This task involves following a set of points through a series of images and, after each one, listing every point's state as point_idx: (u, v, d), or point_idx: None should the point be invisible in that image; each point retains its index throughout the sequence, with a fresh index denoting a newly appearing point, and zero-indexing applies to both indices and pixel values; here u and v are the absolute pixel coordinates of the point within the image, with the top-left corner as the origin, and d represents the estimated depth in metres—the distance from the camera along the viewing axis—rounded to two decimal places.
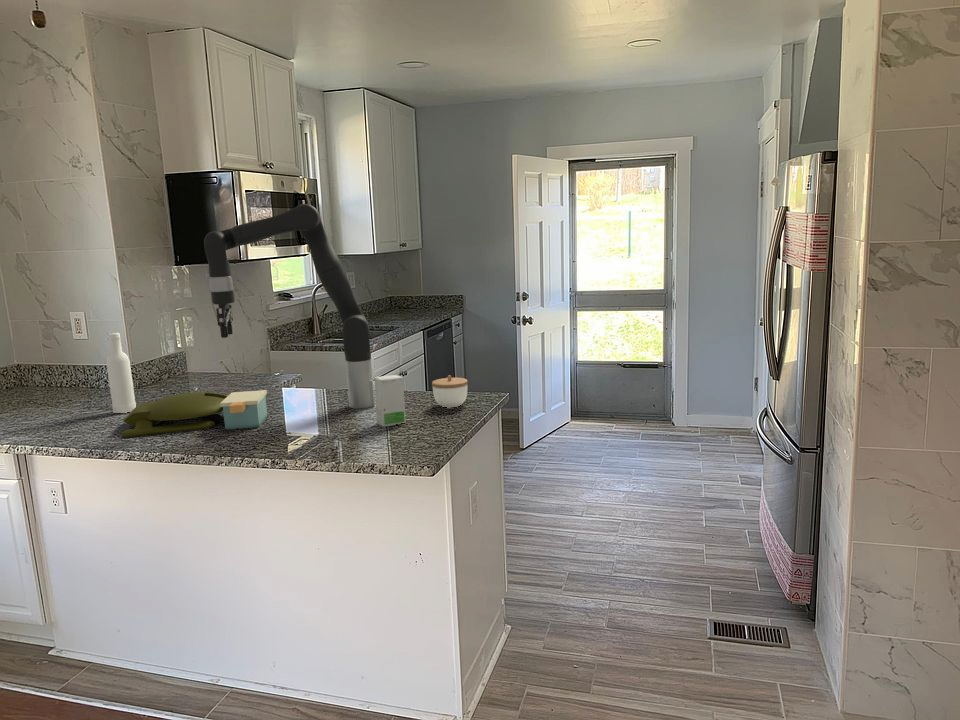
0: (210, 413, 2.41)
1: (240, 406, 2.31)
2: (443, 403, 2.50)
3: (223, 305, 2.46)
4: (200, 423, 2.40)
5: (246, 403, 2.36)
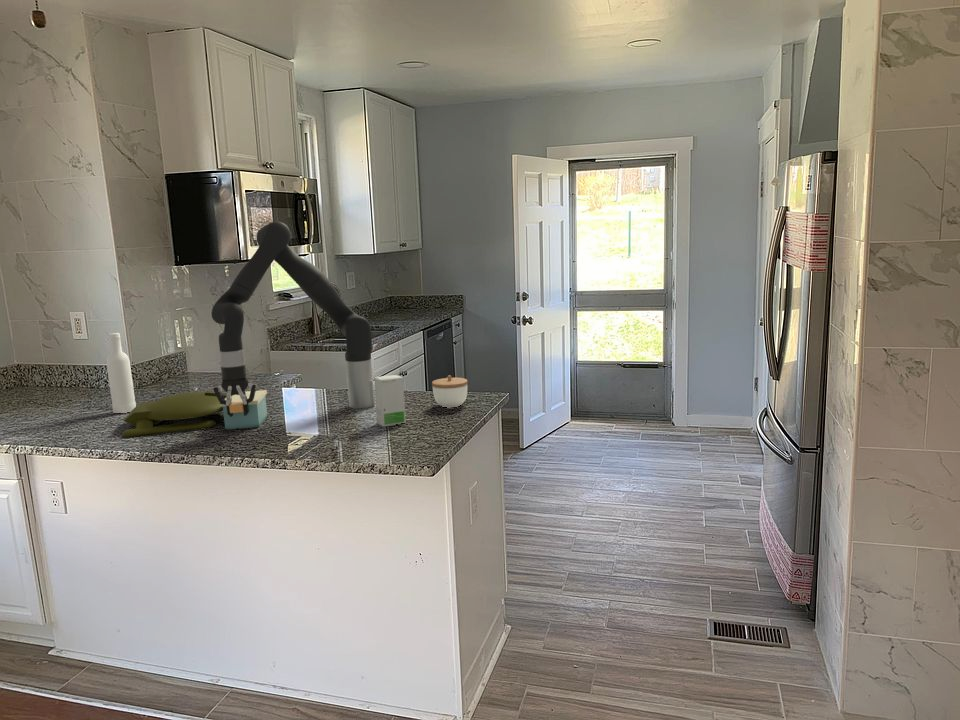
0: (211, 413, 2.42)
1: (240, 406, 2.31)
2: (443, 403, 2.50)
3: (246, 378, 2.33)
4: (201, 422, 2.40)
5: None
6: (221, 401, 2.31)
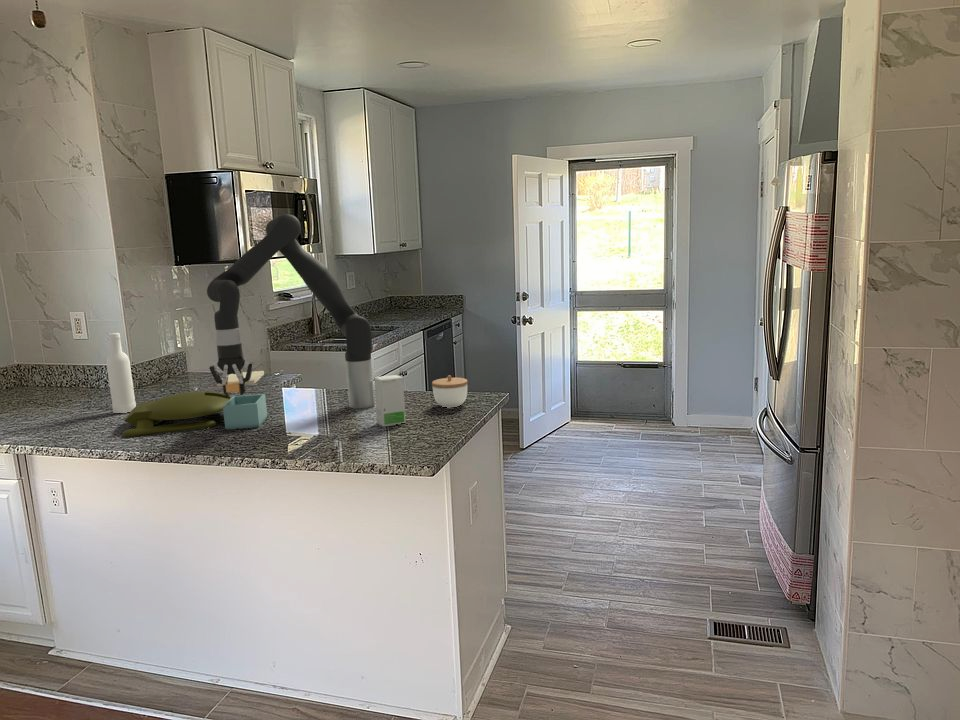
0: (211, 412, 2.42)
1: (236, 385, 2.28)
2: (443, 403, 2.50)
3: None
4: (201, 422, 2.41)
5: None
6: (217, 380, 2.28)
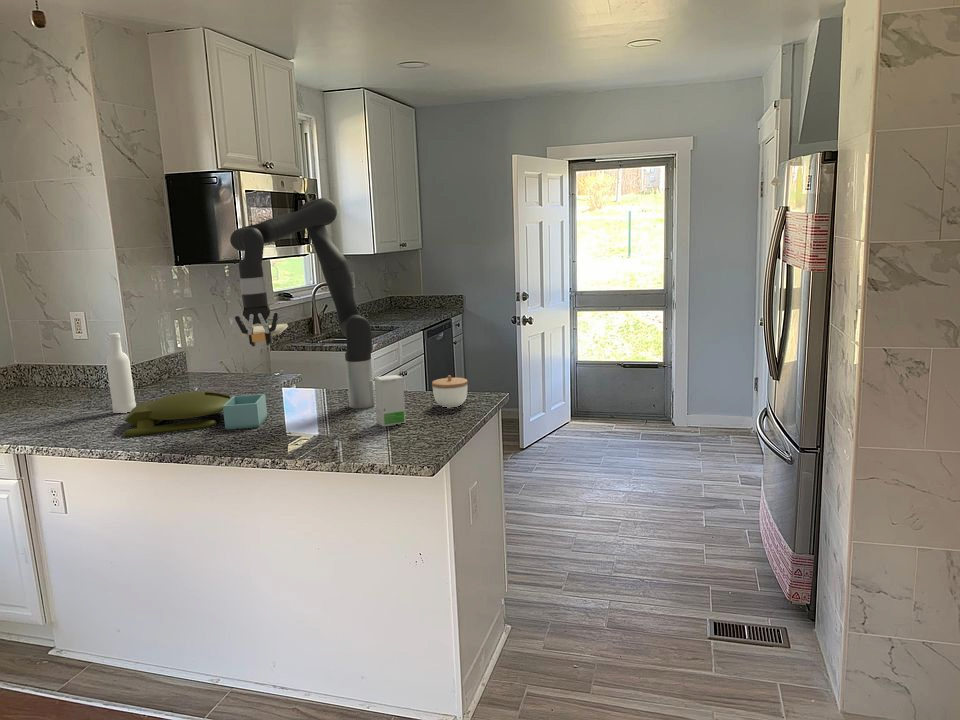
0: (212, 412, 2.43)
1: (262, 335, 2.26)
2: (443, 403, 2.50)
3: (268, 307, 2.28)
4: (202, 422, 2.41)
5: None
6: (243, 330, 2.27)
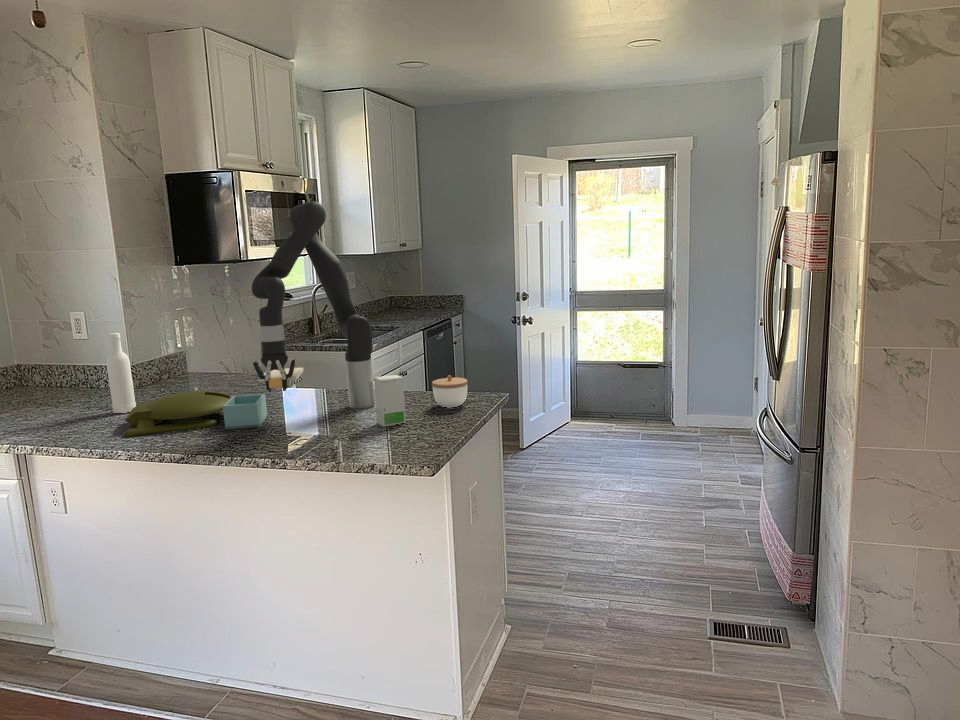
0: (212, 412, 2.43)
1: (279, 381, 2.31)
2: (443, 403, 2.50)
3: None
4: (203, 422, 2.41)
5: None
6: (260, 376, 2.31)
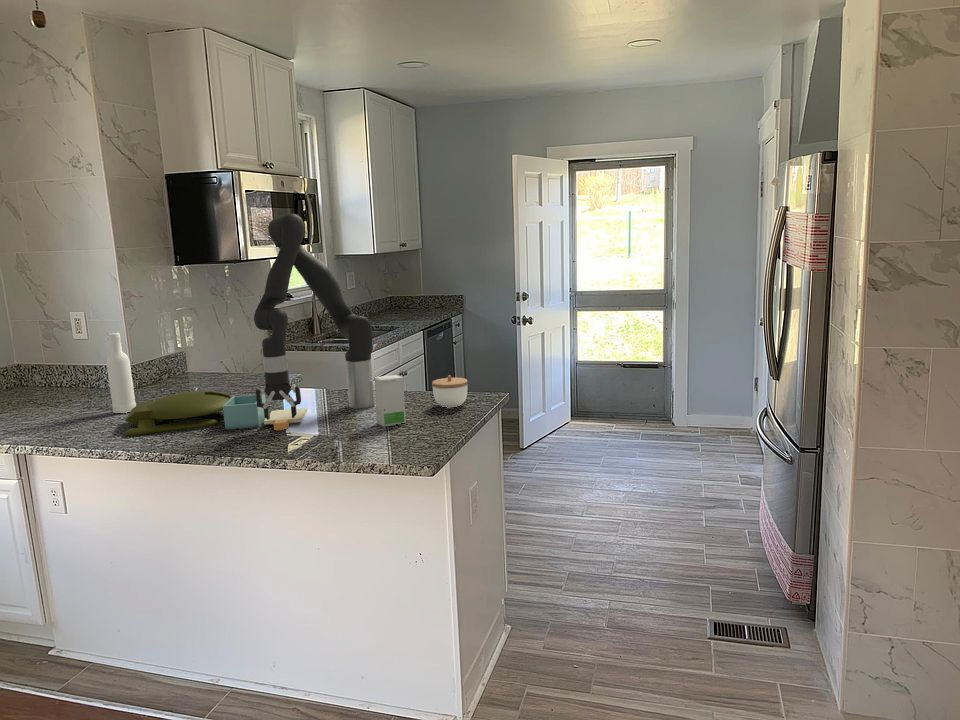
0: (213, 411, 2.44)
1: (284, 424, 2.33)
2: (443, 403, 2.50)
3: None
4: (203, 421, 2.42)
5: (289, 421, 2.38)
6: (258, 404, 2.32)
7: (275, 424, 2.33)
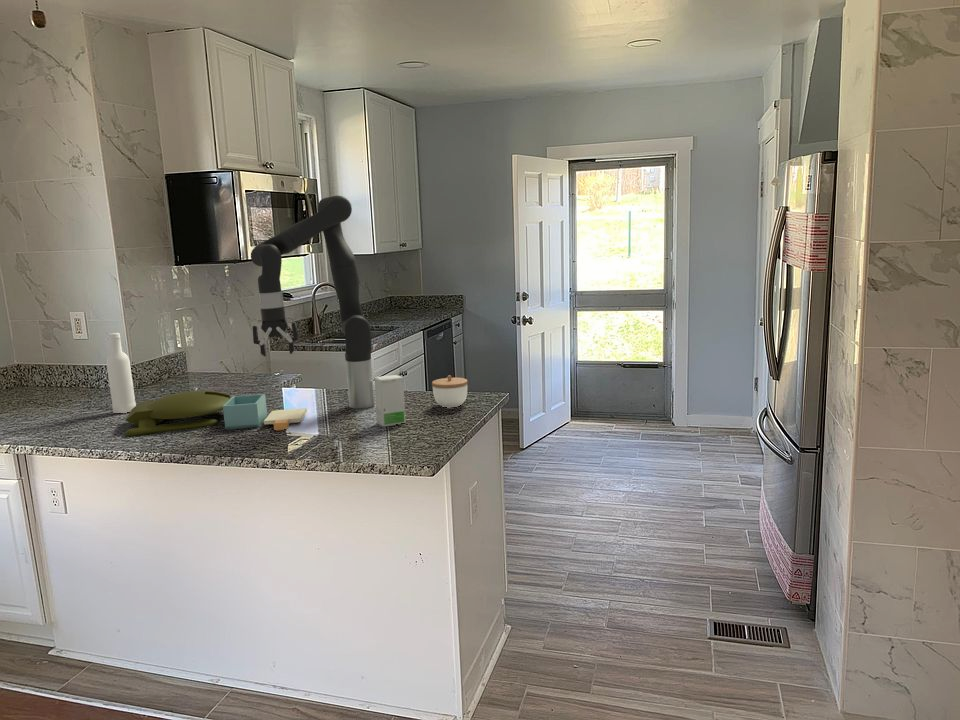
0: (213, 411, 2.44)
1: (284, 424, 2.33)
2: (443, 403, 2.50)
3: None
4: (204, 421, 2.42)
5: (289, 421, 2.38)
6: (255, 341, 2.34)
7: (275, 424, 2.33)
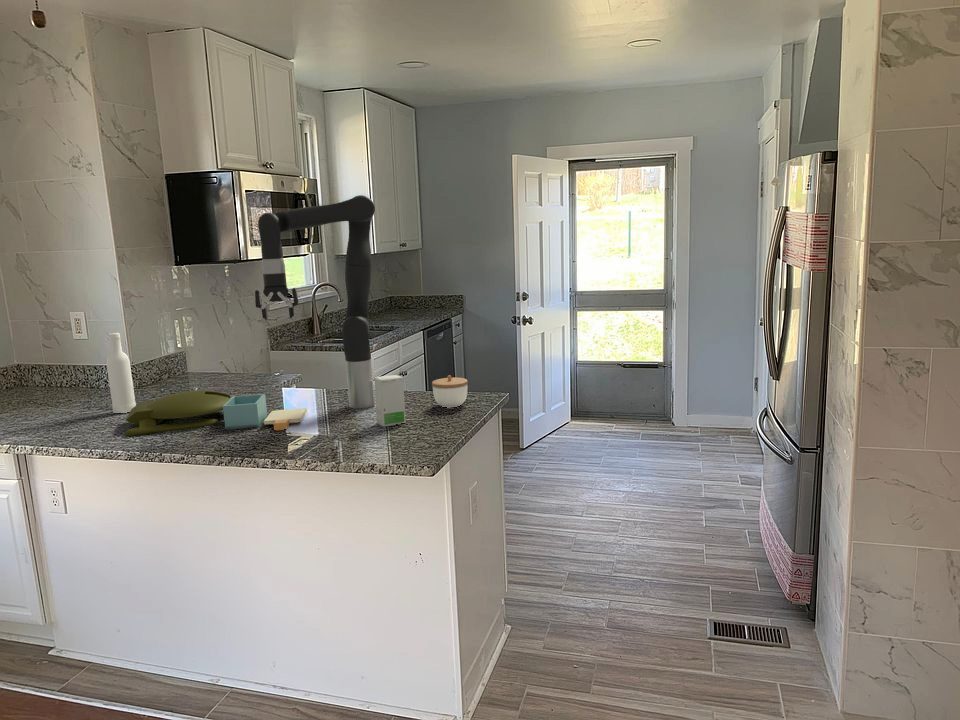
0: (214, 411, 2.45)
1: (284, 424, 2.33)
2: (443, 403, 2.50)
3: (286, 286, 2.48)
4: (204, 421, 2.43)
5: (289, 421, 2.38)
6: (257, 304, 2.46)
7: (275, 424, 2.33)
